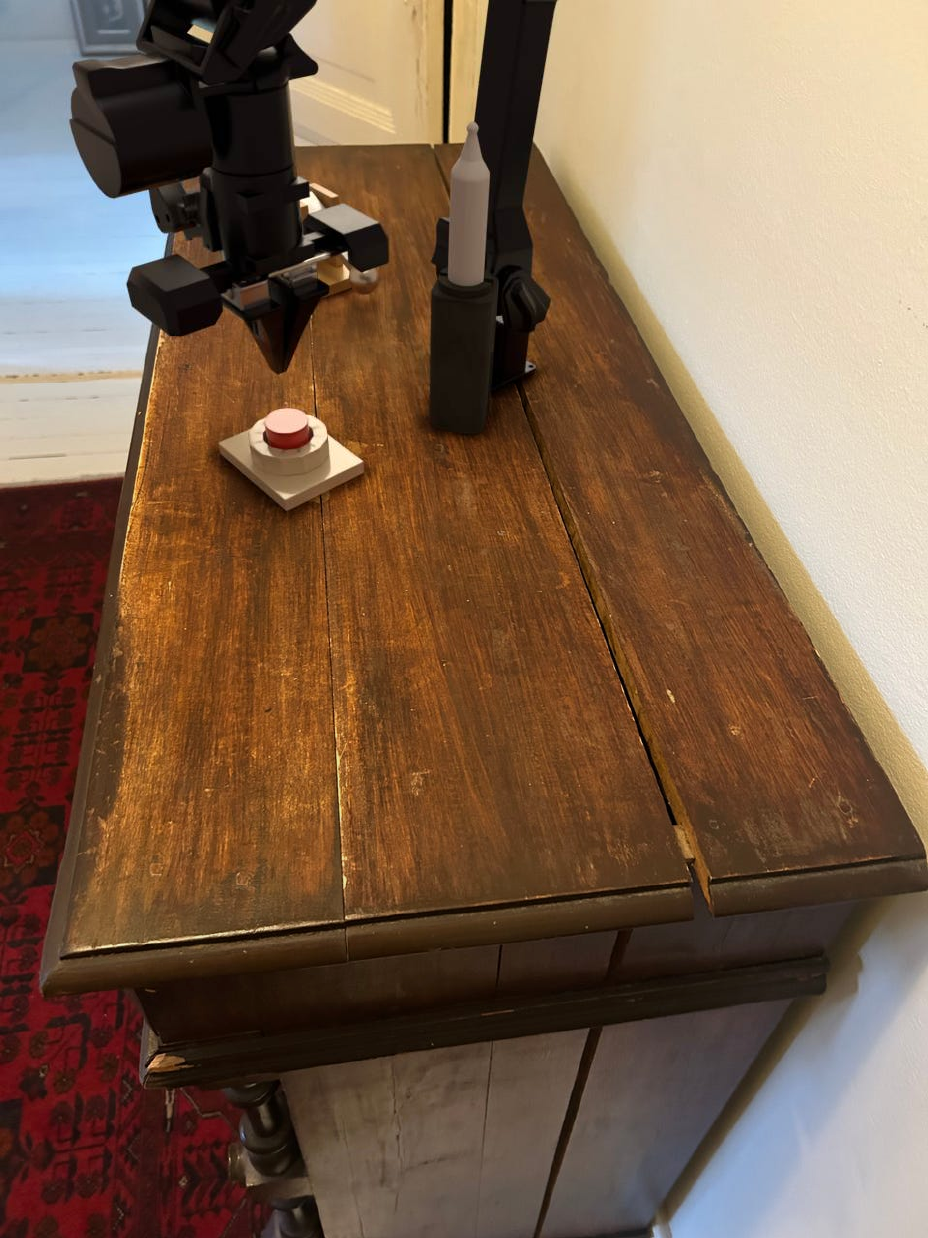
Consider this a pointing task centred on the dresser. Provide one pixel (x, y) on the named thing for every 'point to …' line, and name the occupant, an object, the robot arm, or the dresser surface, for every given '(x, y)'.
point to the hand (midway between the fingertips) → (278, 371)
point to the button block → (292, 463)
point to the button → (287, 429)
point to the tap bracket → (332, 267)
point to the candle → (464, 304)
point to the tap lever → (358, 281)
